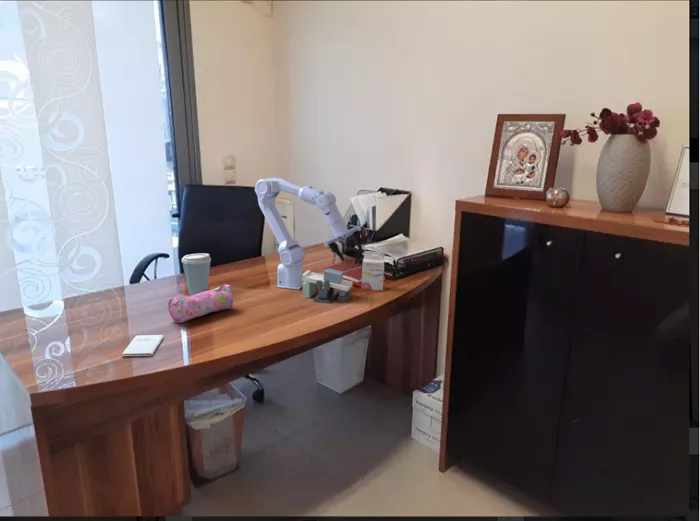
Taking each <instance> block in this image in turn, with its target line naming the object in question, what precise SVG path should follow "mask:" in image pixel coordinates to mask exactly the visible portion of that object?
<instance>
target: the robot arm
mask: <svg viewBox="0 0 700 521" xmlns="http://www.w3.org/2000/svg"><path fill="white" fill-rule="evenodd" d="M254 192H255V194H256V196H257V202H258V206H259V208H260V210H261V212H262V215H264V218H265V220H266V221H267V223H268V226H269V227H270V229H271V231H272V233H273V235H274V237H275V238H276V240H277V243H278V244H279V247H278V249H277V252H278V254H279V259H280V262H281V263H279V265H278V266H277V274H276V276H277V279H276V281H277V282H276V283H277V285H276V288H283V289H289V290H290V289H293V290H300V289H302V288H303V283H304V282H305V281H303V280H302V275H303V261H304V259H305V258H306V251H305V249H304V248H303V247H302V246H301V245H300V243H299V242H298V241H297V240H295V239H293V238H292V236H291V234H290V231H289V230H288V227H287V226H286V224H285V223H284V220H283V218H282V217H281V215H280V212H279V211H278V209H277V207H276V205H275V202H276V199H277V197H278V196H279V194H280V192H285V193H288V194H290V195H291V194H292V195H294V196H297V197H299V199H300V200H301V201H303V202H305V203H307V204H310V205H313V206H315V207H316V208H317V209H318V210H320V211H321V213H322V215H323V216H324V219H325V220H326V222H327V224H328V226H329V228H330V231H331V232H332V235H333V237H331V238H330V239H328V240H326V241H324V242H323V244H324V246H325V248H327V247H328V248H329V249H330V250H331V251H333V252H334V253H335V254H336V256H338V257H339V259H340V261H341V262H343V261H345V258H344V256H343V254H342V252H341V250H340V248H339V245H338V243H337V242H339V241H341V240H344V239H345V238H347V237H349V236H351V235H352V236H351V237H352V239H353V241H354V242H355V244H356V246H357V248H358V250H359V252H360V253H361V252H364V251H363V247H362V241H361V231H362V227H361V226H360V225H357V226H355V227H352V228H350V229H348V226H347V225H346V224H347V223H346V222H345V220H344V219H343V216H342V214H341V212H340V211H339V208H338V206H337V204H336V202H337V199H336V196H335V194H334V193H332V192H331V191H326V192H324V190H322V189H316V188H313V185H305V186H303V187H302V186H298V185H296V184H295V183H292V182H290V181H287V180H285V179H283V178H278V177H277V176H276V177H275V176H273V177H270V178H260V179H259V180H258V181H256V184H255V186H254Z"/></svg>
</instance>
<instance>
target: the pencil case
mask: <svg viewBox="0 0 700 521" xmlns="http://www.w3.org/2000/svg"><path fill="white" fill-rule="evenodd" d="M230 288H231V285H230V284H221V285H219V286H218V287H216V288H212V289H210V290H207V291H204V292H201V293H199V294H195V295H183V296H174V297H172V298H170V299H169V301H168V304H167V306H168V312H169V315H170V316H171V317H170V318H171V319H172V320H173V322H174V323H178V324H181V323H182V324H183V323H185V322H188V321H190V320H192V319H195V318H198V317H202V316H204V315H208V314H209V313H213V312H214V313H216V312H220V311H225V310H231V309H232V308H233V306H234V303H233V302H234V299H233V298H234V297H233V292H232V290H231V289H230Z"/></svg>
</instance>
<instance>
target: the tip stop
mask: <svg viewBox="0 0 700 521" xmlns="http://www.w3.org/2000/svg"><path fill="white" fill-rule="evenodd" d="M351 296H352V291H351V290H349V291H348V293H347V294H346V295H345V296H340V295H339V294H338V295H337V302H340V303H346V302H348V300H349V299H350V298H351Z"/></svg>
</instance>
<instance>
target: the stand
mask: <svg viewBox="0 0 700 521" xmlns="http://www.w3.org/2000/svg"><path fill="white" fill-rule="evenodd" d="M323 286H324V289H322V287H323ZM316 290H318V294H317V295H316V296H314V298H313V302H316V303H321V304H322V303H323V304H330V303H331V302H332V301H333V300H334V299H335V298H336V296H338V295H339V293H340V289H336V288H332V287H330V281H325V282H324V285H322V280H317V284H316Z"/></svg>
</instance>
